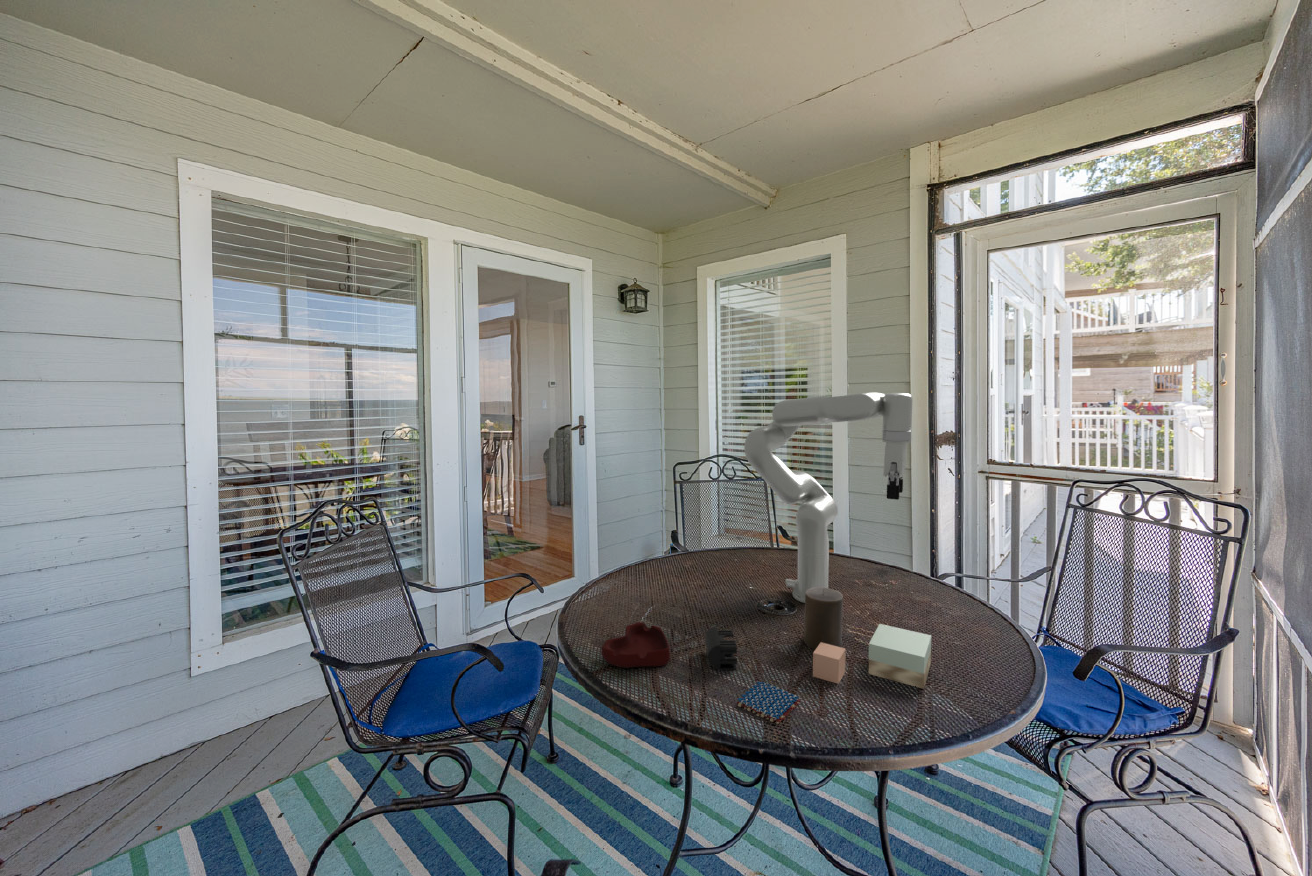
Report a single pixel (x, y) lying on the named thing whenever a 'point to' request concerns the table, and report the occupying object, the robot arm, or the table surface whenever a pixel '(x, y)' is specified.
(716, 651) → the end cap
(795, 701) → the woven mat
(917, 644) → the sage slab
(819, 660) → the terracotta cube
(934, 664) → the table surface
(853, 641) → the table surface
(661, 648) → the ashtray
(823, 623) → the pillar candle
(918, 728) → the table surface
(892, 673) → the birch slab
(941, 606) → the table surface
